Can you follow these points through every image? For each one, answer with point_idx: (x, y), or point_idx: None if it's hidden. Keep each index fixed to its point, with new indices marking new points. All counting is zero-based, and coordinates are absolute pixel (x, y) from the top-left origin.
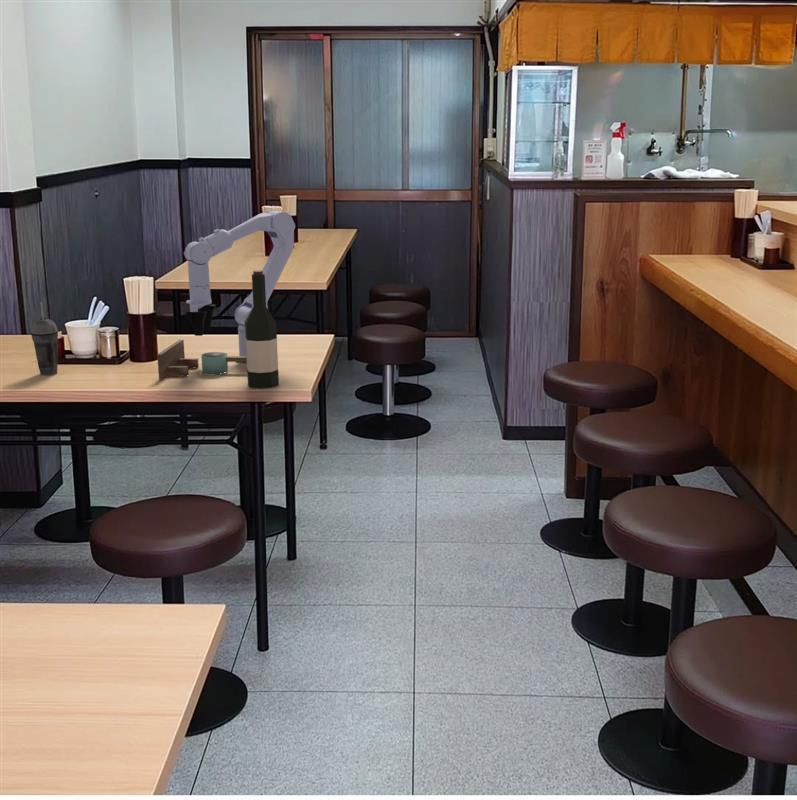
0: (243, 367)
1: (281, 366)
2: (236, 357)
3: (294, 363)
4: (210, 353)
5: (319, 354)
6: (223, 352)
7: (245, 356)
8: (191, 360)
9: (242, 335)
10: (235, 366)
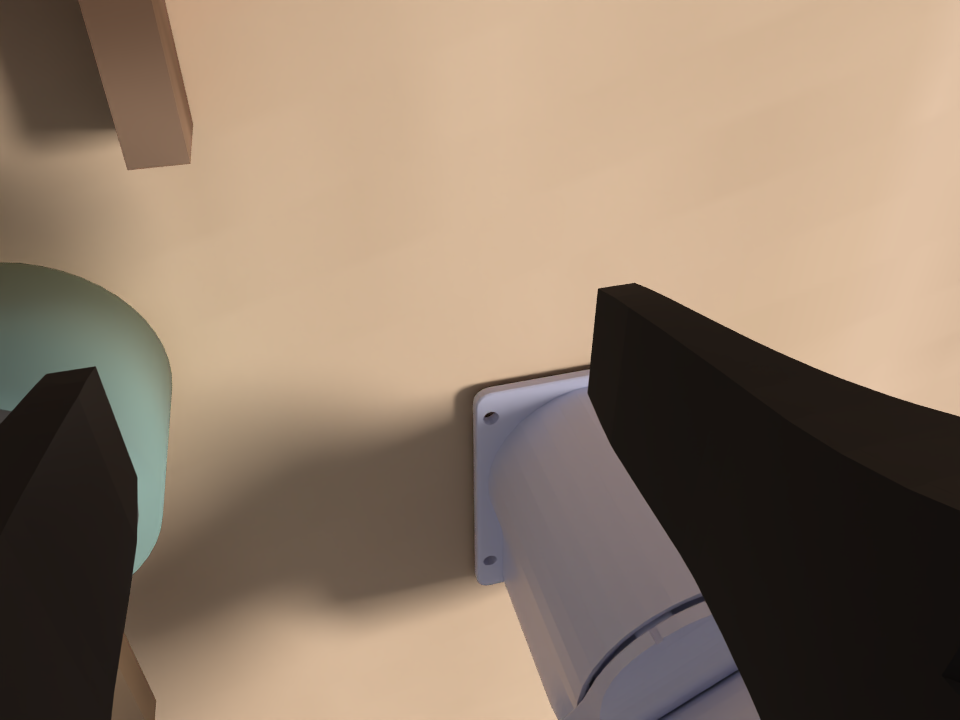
0: (289, 509)
1: (368, 676)
2: None
3: (460, 691)
4: None
5: None
6: (146, 548)
7: (131, 704)
8: (104, 84)
9: (583, 626)
10: (314, 445)
